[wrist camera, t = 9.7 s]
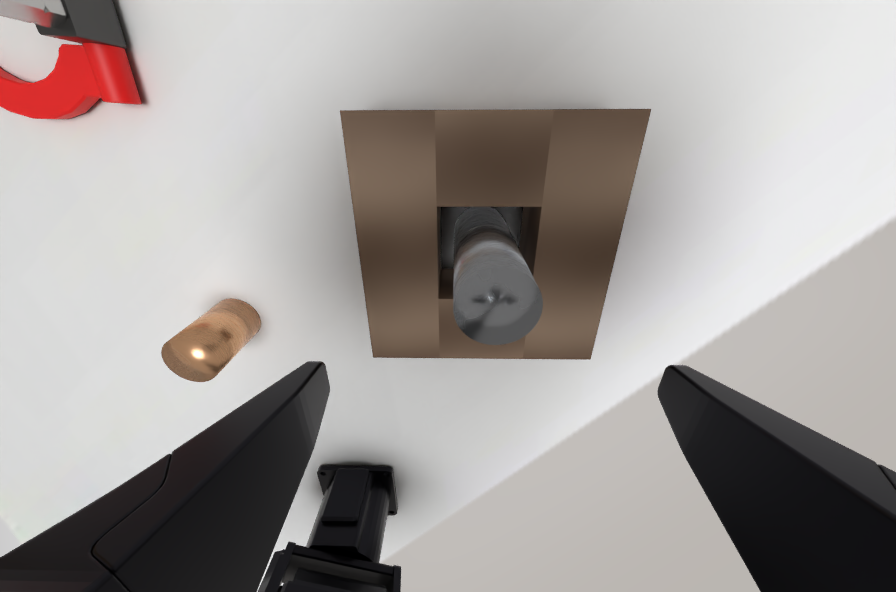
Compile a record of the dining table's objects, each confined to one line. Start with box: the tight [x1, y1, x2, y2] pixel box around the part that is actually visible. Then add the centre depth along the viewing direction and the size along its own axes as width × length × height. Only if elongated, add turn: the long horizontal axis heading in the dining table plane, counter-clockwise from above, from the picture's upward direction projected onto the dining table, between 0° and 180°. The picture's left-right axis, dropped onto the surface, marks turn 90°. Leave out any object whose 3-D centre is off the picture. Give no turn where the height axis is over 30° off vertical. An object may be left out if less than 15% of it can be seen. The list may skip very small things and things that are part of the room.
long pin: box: [453, 207, 543, 345], centre depth 15 cm, size 3×3×9 cm
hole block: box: [340, 109, 651, 359], centre depth 17 cm, size 12×12×4 cm
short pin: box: [161, 299, 261, 382], centre depth 20 cm, size 3×3×4 cm
